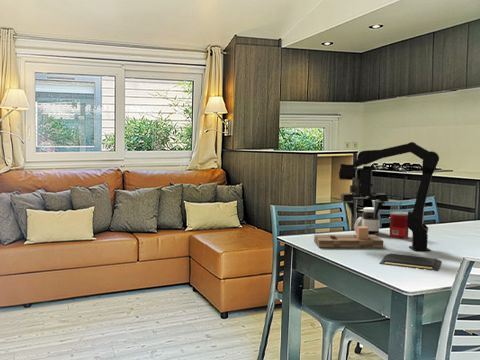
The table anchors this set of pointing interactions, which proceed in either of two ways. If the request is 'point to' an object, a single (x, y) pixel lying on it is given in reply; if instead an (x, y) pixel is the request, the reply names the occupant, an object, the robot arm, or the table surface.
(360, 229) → the square peg
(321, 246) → the bore block
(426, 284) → the table surface
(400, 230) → the canned food
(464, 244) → the table surface
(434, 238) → the table surface
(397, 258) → the dark grey flat slab
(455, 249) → the table surface
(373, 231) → the spread jar
